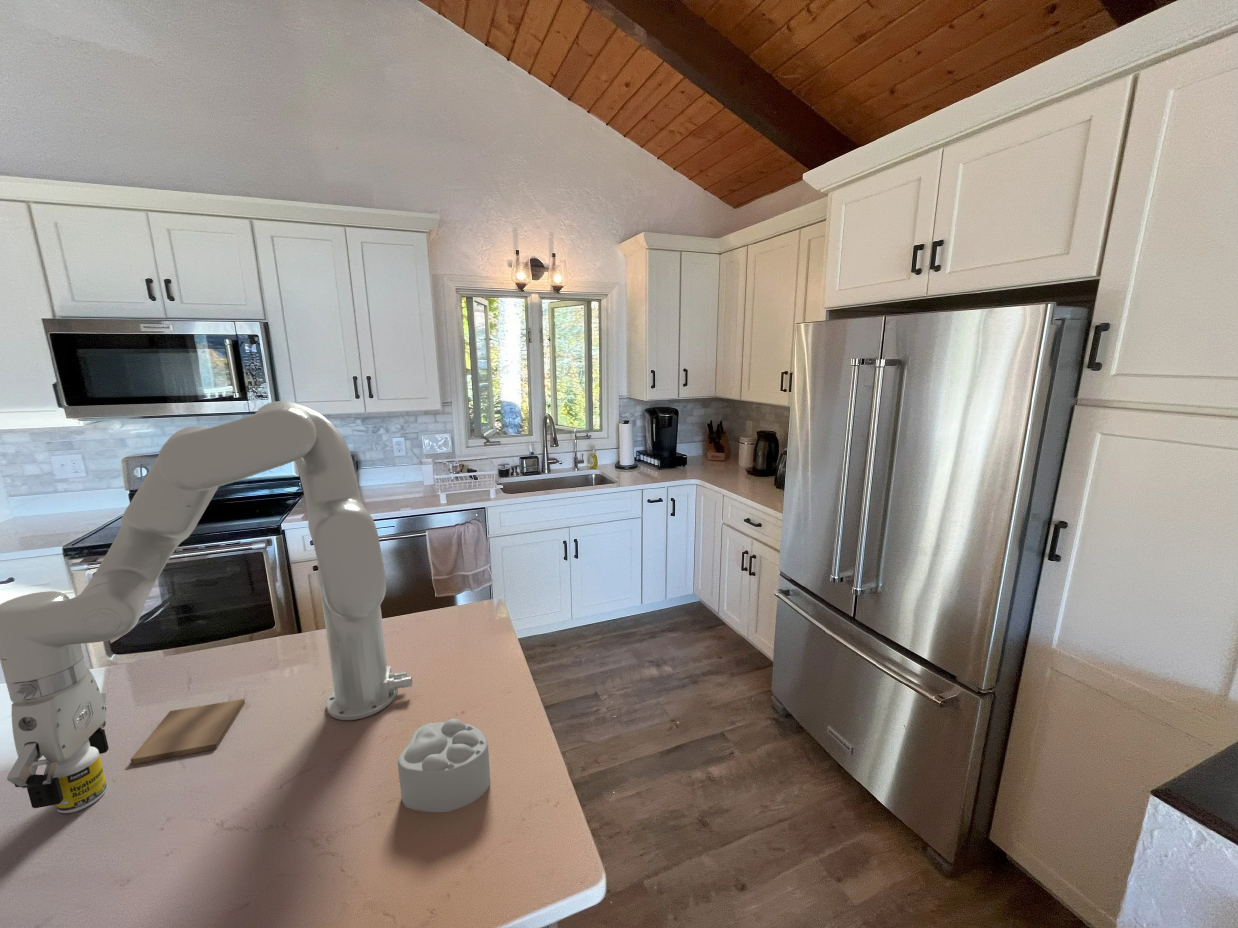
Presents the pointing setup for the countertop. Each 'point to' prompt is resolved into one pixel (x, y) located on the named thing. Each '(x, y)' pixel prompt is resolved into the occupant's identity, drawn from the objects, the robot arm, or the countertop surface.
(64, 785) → the supplement bottle
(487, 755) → the lumpy-topped squat cylinder
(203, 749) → the walnut board
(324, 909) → the countertop surface
